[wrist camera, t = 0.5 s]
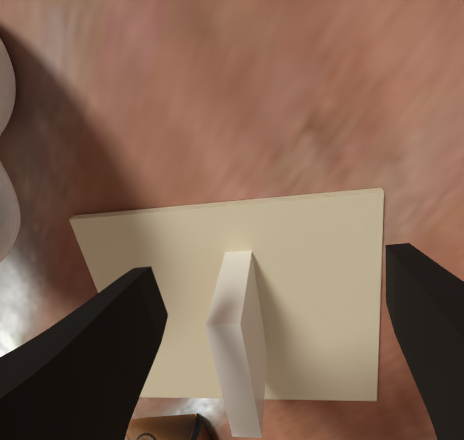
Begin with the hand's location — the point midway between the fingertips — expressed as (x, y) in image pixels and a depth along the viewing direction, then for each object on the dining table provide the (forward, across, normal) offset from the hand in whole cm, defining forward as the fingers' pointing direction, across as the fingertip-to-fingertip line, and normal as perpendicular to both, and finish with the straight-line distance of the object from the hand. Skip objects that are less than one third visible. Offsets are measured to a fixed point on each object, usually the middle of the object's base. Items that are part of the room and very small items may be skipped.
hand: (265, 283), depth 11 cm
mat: (+9, +4, +9) cm, 14 cm away
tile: (+9, +3, +8) cm, 12 cm away
